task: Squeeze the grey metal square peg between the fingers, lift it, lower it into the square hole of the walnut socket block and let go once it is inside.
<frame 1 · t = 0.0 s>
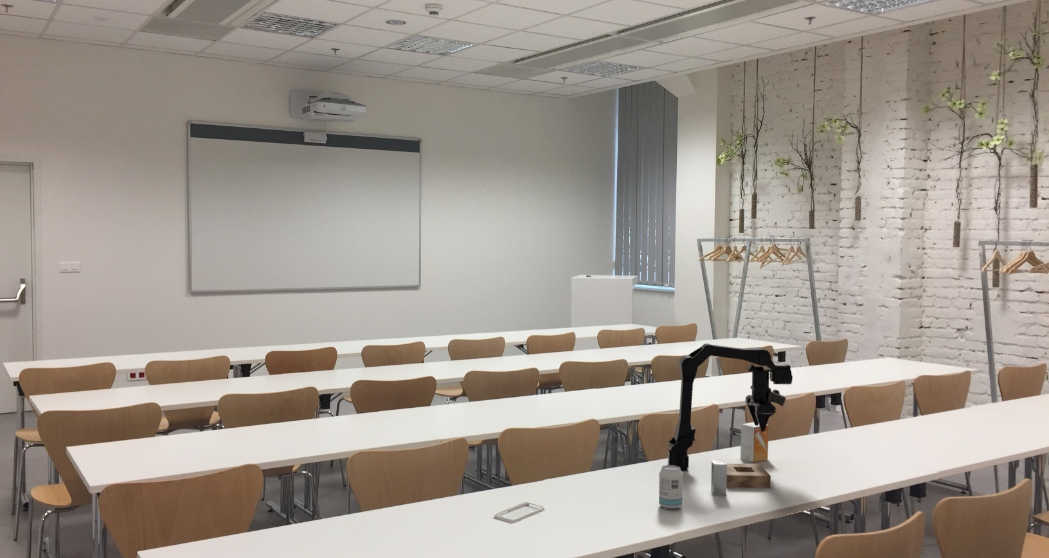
hand: (759, 428, 283), 15 cm above the table, fingers open, 9 cm apart
walnut socket block: (743, 481, 270), on the table
small box: (754, 459, 298), on the table
grey metal peg: (718, 493, 257), on the table
beverage can: (670, 507, 244), on the table
phone case: (519, 515, 238), on the table
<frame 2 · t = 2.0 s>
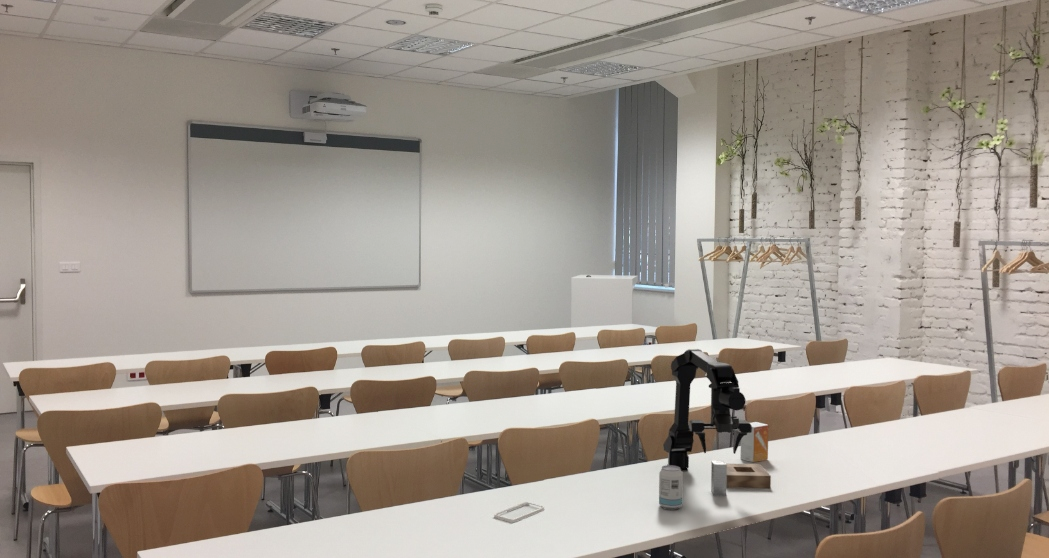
hand: (719, 453, 256), 13 cm above the table, fingers open, 9 cm apart
nothing on the table moved.
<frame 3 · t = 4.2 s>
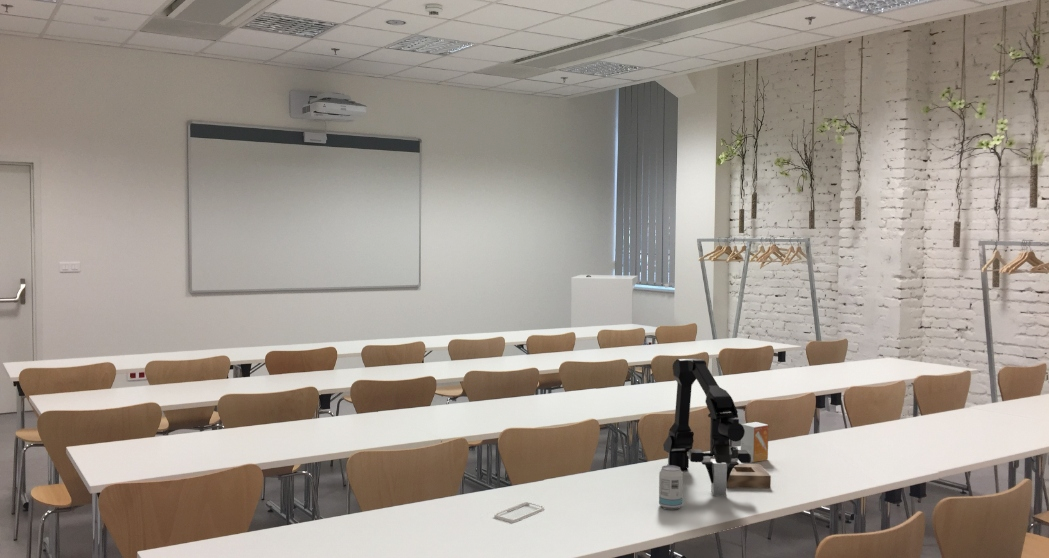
hand: (718, 482, 257), 4 cm above the table, fingers closed on grey metal peg, 4 cm apart
grey metal peg: (718, 493, 257), on the table, touching gripper
everything else where it was.
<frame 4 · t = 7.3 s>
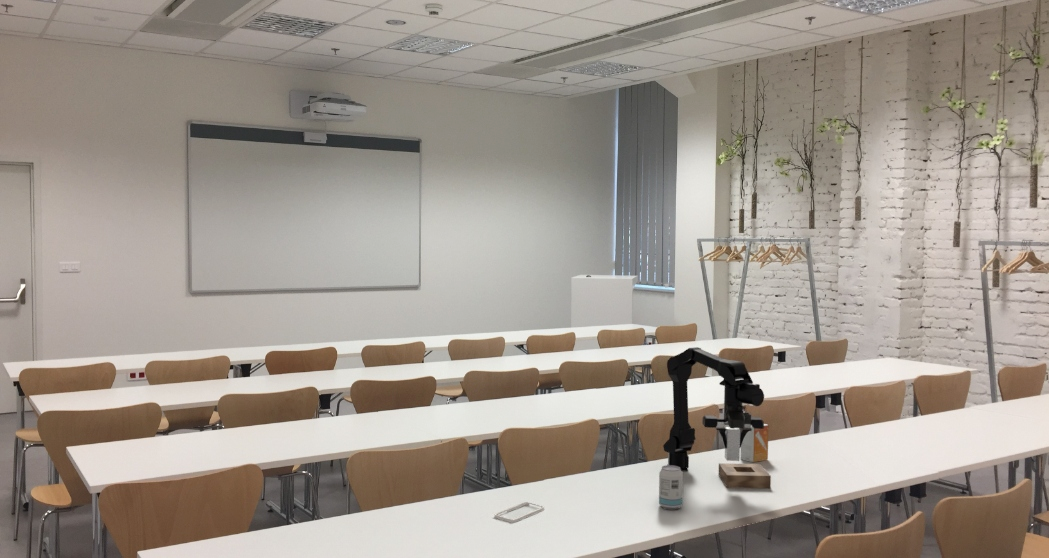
hand: (732, 448, 263), 13 cm above the table, fingers closed on grey metal peg, 4 cm apart
grey metal peg: (731, 459, 263), point 9 cm above the table, touching gripper
everything else where it was.
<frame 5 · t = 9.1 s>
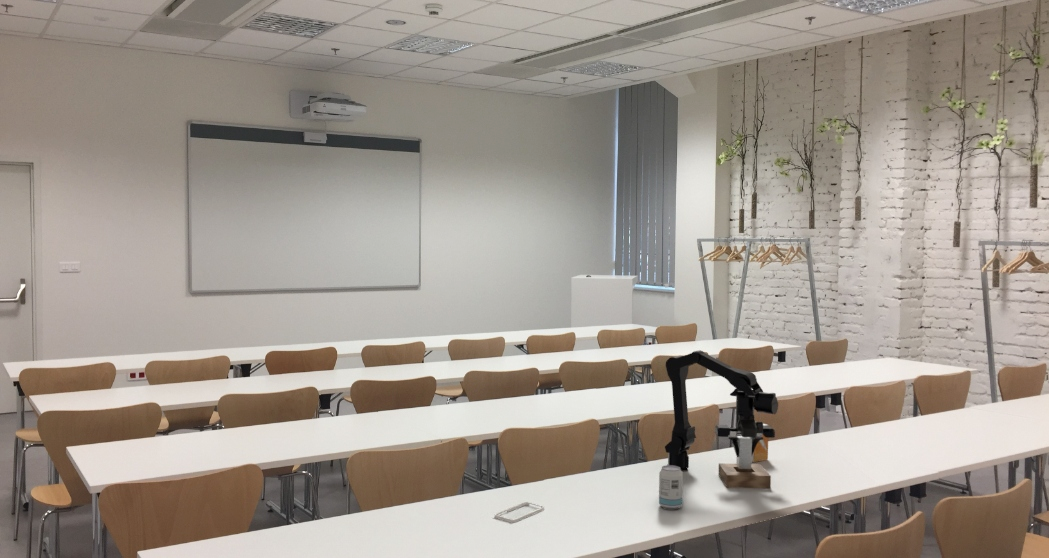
hand: (743, 456, 270), 8 cm above the table, fingers closed on grey metal peg, 4 cm apart
grey metal peg: (743, 467, 270), point 5 cm above the table, touching gripper
everything else where it was.
when the fingers open (5 cm above the table, at t = 10.5 s): grey metal peg drops 2 cm, resting in walnut socket block.
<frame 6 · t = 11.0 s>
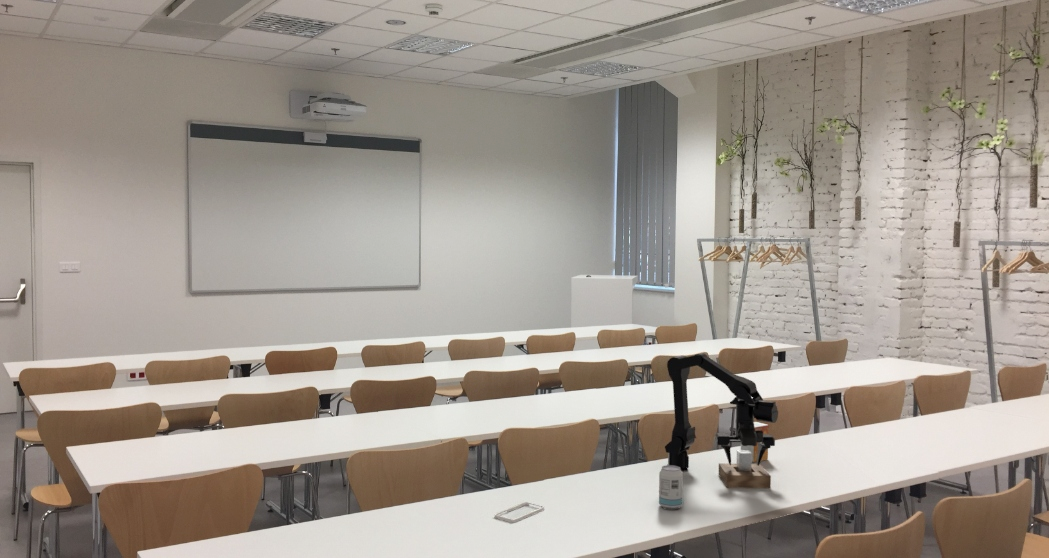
hand: (744, 465, 270), 5 cm above the table, fingers open, 9 cm apart
grey metal peg: (743, 481, 270), resting in walnut socket block
everything else where it was.
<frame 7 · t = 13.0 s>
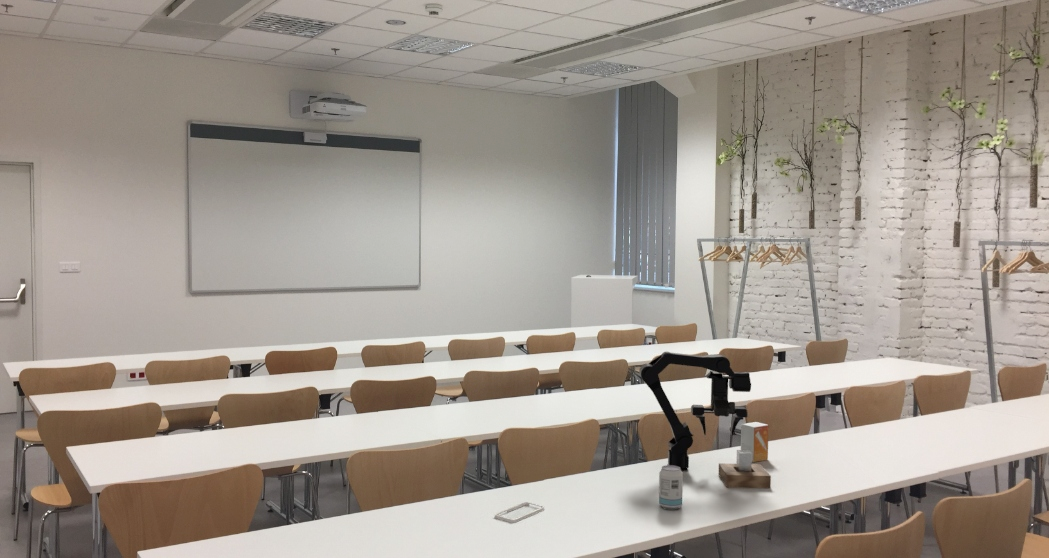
hand: (718, 435, 284), 12 cm above the table, fingers open, 9 cm apart
nothing on the table moved.
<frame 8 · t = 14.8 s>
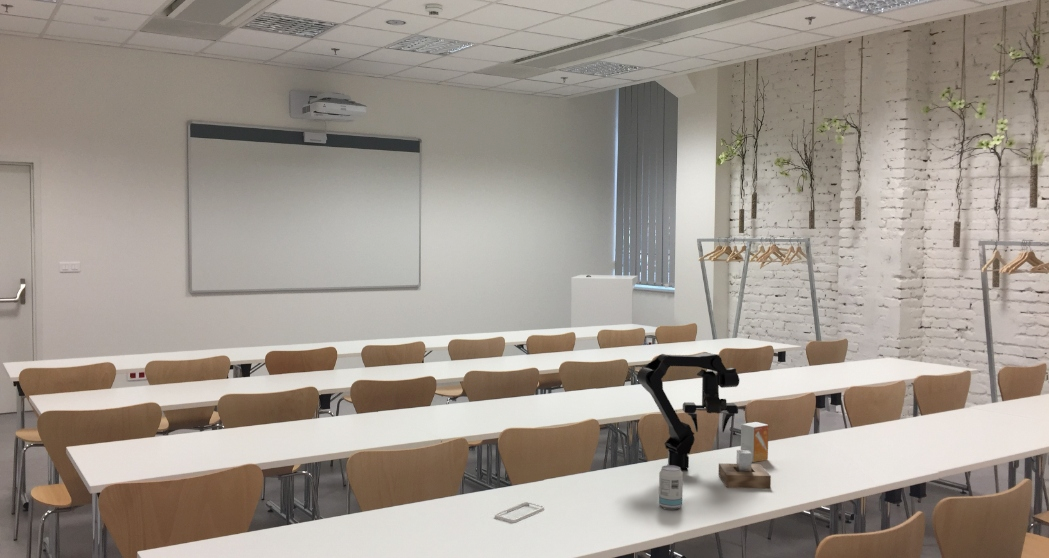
hand: (709, 431, 289), 12 cm above the table, fingers open, 9 cm apart
nothing on the table moved.
at the end: grey metal peg 0.1 cm off-centre on the walnut socket block, point 0.0 cm above the walnut socket block's base; grey metal peg tilted 0°; the gripper is holding nothing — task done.
